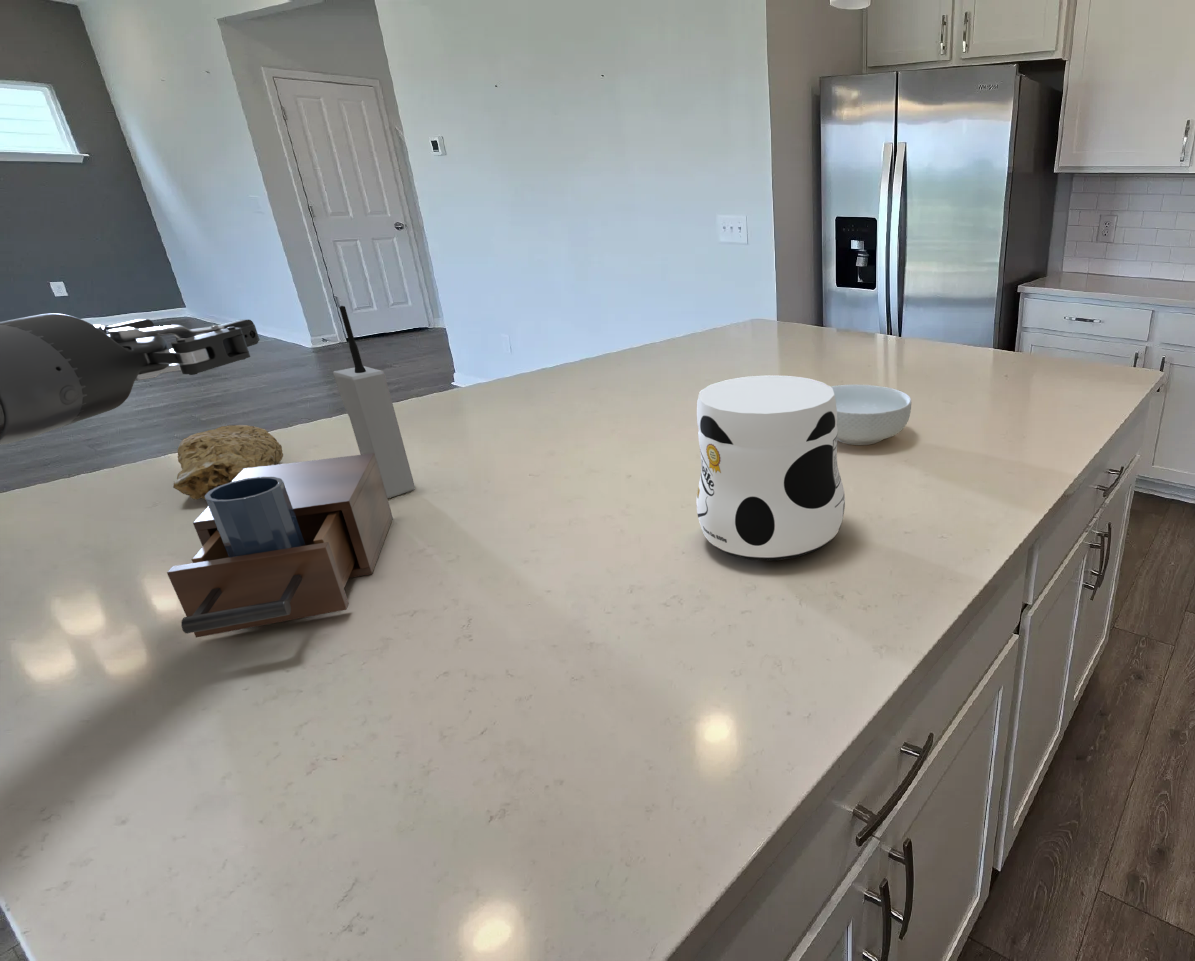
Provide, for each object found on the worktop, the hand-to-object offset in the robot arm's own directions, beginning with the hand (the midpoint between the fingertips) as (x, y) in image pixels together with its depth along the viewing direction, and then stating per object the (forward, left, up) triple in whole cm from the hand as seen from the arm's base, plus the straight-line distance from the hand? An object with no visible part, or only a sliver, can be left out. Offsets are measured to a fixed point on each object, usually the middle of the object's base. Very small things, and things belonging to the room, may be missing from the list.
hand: (202, 330), depth 63 cm
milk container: (+50, -9, -27) cm, 57 cm away
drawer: (+1, -5, -26) cm, 26 cm away
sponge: (-15, +37, -27) cm, 48 cm away
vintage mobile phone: (+6, +24, -27) cm, 36 cm away
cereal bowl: (+74, +19, -27) cm, 81 cm away
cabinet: (+1, +7, -27) cm, 28 cm away
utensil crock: (+1, -5, -25) cm, 25 cm away
